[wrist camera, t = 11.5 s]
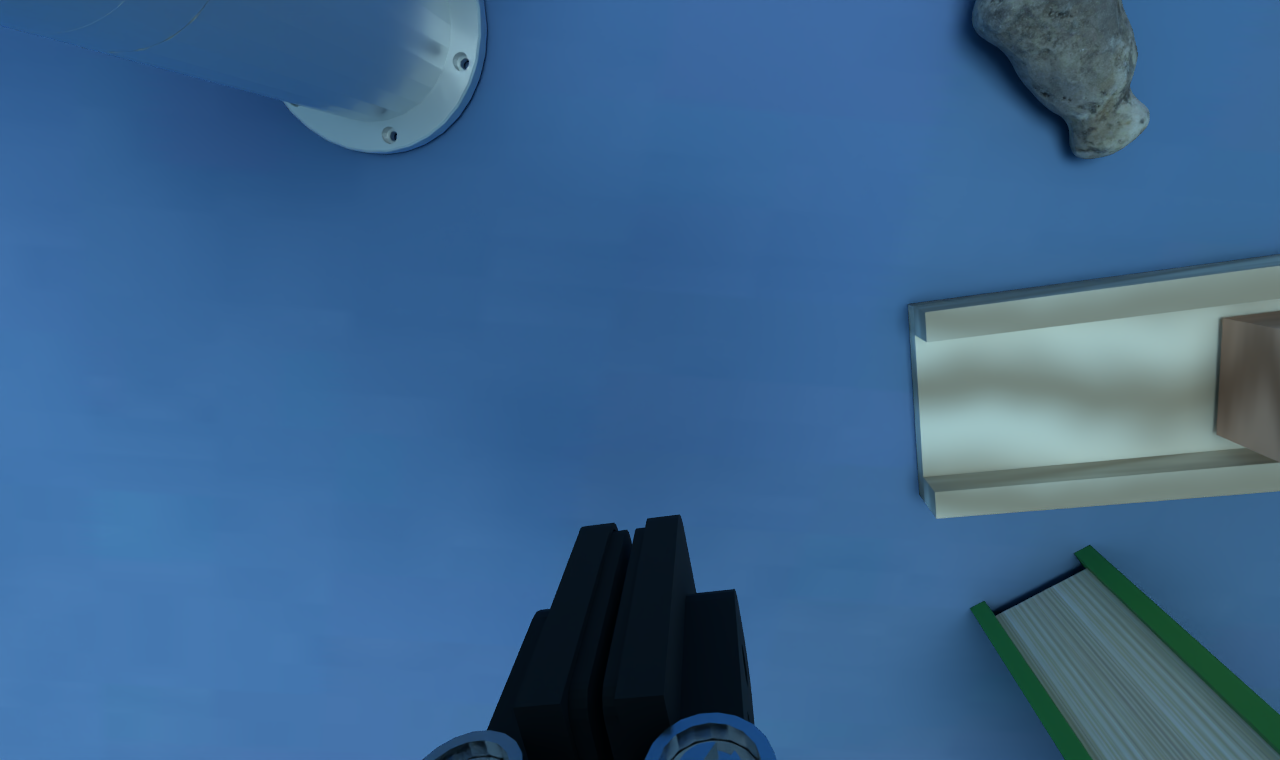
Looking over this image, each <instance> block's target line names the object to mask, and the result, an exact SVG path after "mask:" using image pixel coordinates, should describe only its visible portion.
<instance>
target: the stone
mask: <svg viewBox="0 0 1280 760" xmlns="http://www.w3.org/2000/svg"><path fill="white" fill-rule="evenodd" d="M972 25H973V27H974V29H975V31H976V32H977V33H978V35H980V36H981V37H982V38H984V39H985V40H986V41H988V42H989V43H991V44H993V45H994V46H996V47H998V48H999V49H1000V50H1001V51H1002V52H1004V53H1005V55H1006V56H1007V57H1008V59H1009V60H1010V62H1011V63H1012V65H1013V67H1014V69H1015V71H1016V73H1017V75H1018V76H1019V78H1020V79H1021V81H1022V82H1023V84H1024V85H1025V86H1026V87H1027V88H1028V89H1029V90H1030V91H1031V92H1032V94H1033V95H1034V96H1035V97H1036V98H1037V99H1038V101H1040V102H1041V103H1042V104H1043V105H1044V106H1045V107H1047V108H1048V109H1049V110H1051V111H1052V112H1053V113H1055V114H1057V115H1059V116H1061V117H1062V118H1063V119H1064V120H1065V122H1066V123H1067V125H1068V128H1069V141H1070V147H1071V150H1072V152H1073V153H1074V155H1075V156H1076V157H1079V158H1083V159H1093V158H1099V157H1104V156H1107V155H1111V154H1113V153H1115V152H1117V151H1119V150H1121V149H1123V148H1124V147H1125V146H1127V145H1128V144H1129V143H1131V142H1132V141H1133V140H1134V139H1136V138H1137V137H1138V136H1139V135H1140V134H1141V133H1142V132H1143V131H1144V129H1145V128H1146V127H1147V125H1148V123H1149V110H1148V108H1147V107H1146V106H1145V105H1144V104H1143V103H1141V102H1140V101H1139V100H1138V99H1137V98H1136V97H1135V96H1134V95H1133V93H1132V91H1131V89H1130V83H1131V80H1132V77H1133V74H1134V70H1135V66H1136V62H1137V57H1138V52H1137V46H1136V43H1135V39H1134V33H1133V29H1132V27H1131V25H1130V22H1129V20H1128V18H1127V15H1126V13H1125V11H1124V8H1123V4H1122V0H976V1H975V5H974V8H973V12H972Z"/></svg>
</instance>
